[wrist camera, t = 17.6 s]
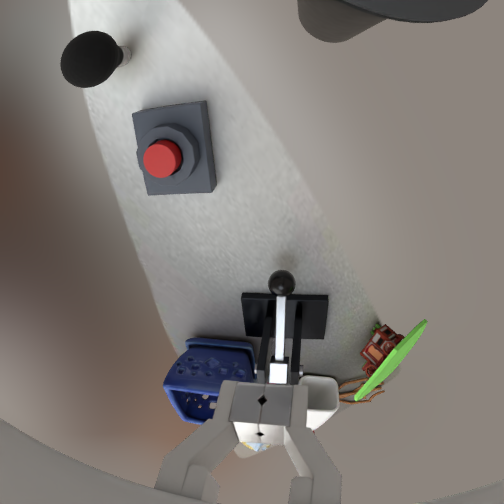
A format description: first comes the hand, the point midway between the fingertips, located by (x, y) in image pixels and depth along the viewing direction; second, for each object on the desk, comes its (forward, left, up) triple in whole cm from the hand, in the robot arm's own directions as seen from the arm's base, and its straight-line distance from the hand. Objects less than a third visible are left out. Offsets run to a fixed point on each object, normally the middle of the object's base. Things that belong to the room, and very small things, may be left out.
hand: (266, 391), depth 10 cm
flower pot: (+34, -12, -27) cm, 45 cm away
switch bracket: (+23, -1, -27) cm, 36 cm away
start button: (-2, -13, -23) cm, 27 cm away
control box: (-2, -13, -27) cm, 30 cm away
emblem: (+44, +12, -26) cm, 53 cm away
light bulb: (-14, -18, -27) cm, 36 cm away
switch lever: (+19, -1, -21) cm, 28 cm away
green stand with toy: (+28, +16, -22) cm, 39 cm away
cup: (+53, +1, -24) cm, 58 cm away
